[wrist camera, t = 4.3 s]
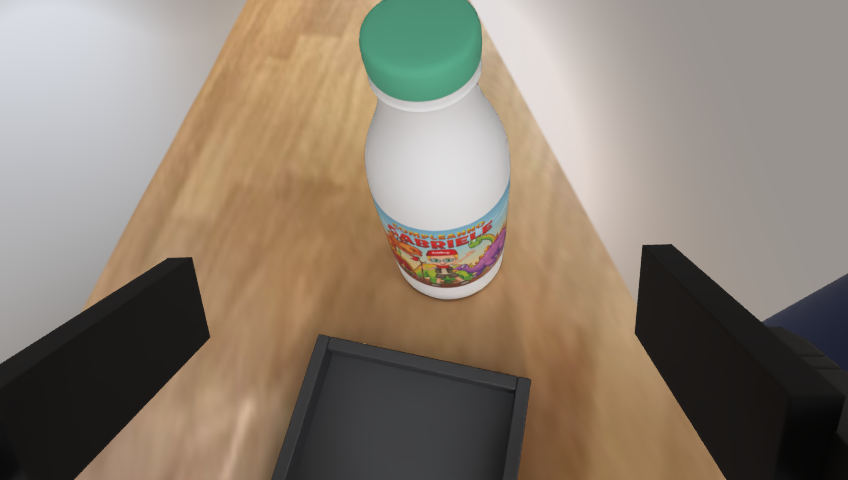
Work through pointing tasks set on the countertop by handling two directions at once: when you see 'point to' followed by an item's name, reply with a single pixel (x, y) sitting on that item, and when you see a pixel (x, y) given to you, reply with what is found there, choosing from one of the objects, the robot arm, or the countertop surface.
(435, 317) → the countertop surface
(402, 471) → the dock tray
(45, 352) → the robot arm
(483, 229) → the milk bottle
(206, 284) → the countertop surface
